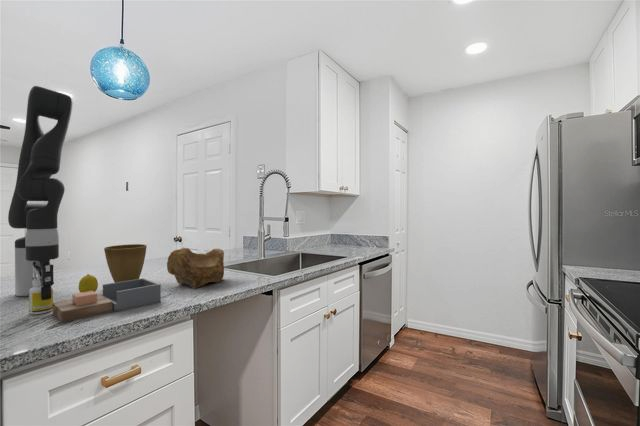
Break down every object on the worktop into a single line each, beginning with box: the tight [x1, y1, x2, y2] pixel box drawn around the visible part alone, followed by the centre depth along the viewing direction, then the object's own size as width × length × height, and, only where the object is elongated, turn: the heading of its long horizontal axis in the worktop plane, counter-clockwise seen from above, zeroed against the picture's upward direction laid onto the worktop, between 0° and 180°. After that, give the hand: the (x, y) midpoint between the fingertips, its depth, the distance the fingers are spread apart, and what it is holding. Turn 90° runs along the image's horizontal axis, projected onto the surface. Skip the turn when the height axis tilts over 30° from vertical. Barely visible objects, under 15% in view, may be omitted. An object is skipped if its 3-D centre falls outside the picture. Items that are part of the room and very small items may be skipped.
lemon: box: [78, 273, 99, 293], centre depth 111 cm, size 6×6×8 cm
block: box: [71, 291, 98, 306], centre depth 94 cm, size 5×5×2 cm
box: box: [100, 278, 162, 313], centre depth 104 cm, size 14×14×6 cm
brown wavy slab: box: [52, 294, 113, 323], centre depth 94 cm, size 12×12×3 cm
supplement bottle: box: [28, 280, 54, 315], centre depth 94 cm, size 5×5×10 cm
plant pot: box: [103, 243, 148, 283], centre depth 128 cm, size 15×15×16 cm
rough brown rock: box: [166, 247, 225, 289], centre depth 129 cm, size 23×17×15 cm
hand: (43, 297), depth 94 cm, fingers open, 8 cm apart
